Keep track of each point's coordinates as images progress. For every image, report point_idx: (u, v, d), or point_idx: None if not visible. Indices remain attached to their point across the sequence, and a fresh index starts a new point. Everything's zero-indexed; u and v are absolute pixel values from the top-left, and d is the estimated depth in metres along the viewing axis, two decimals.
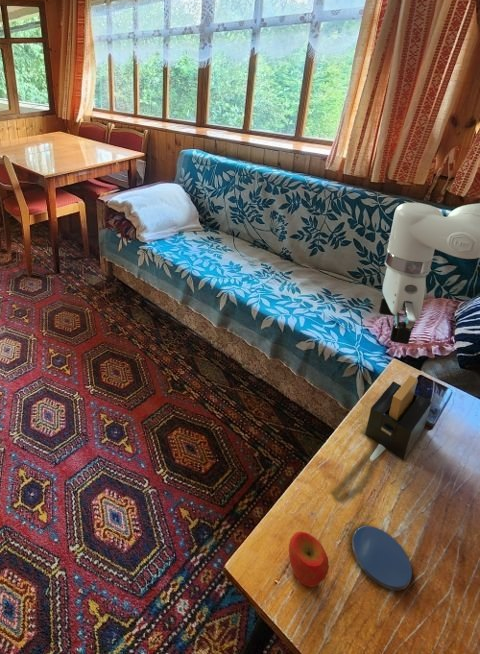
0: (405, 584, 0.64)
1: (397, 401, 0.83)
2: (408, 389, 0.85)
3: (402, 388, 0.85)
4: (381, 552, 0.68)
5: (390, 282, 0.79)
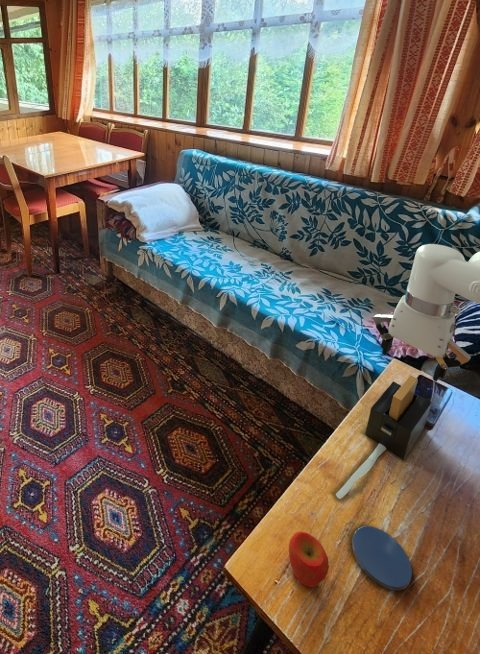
0: (405, 584, 0.64)
1: (397, 401, 0.83)
2: (408, 389, 0.85)
3: (402, 388, 0.85)
4: (381, 552, 0.68)
5: (423, 328, 0.77)
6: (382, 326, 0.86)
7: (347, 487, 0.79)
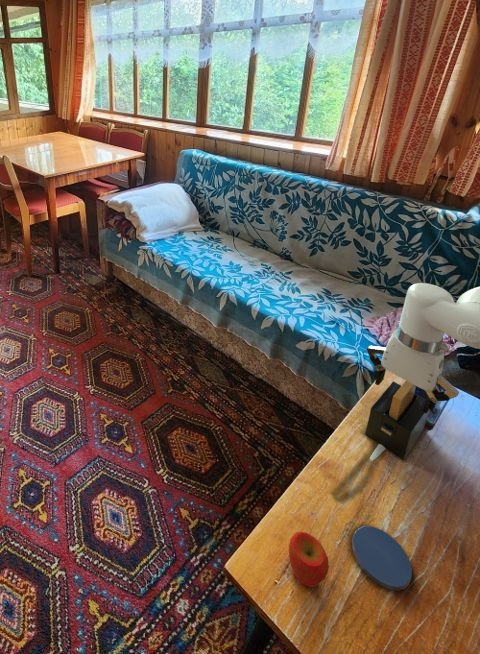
0: (405, 584, 0.64)
1: (397, 401, 0.83)
2: (408, 389, 0.85)
3: (402, 388, 0.85)
4: (381, 552, 0.68)
5: (414, 363, 0.80)
6: (375, 357, 0.89)
7: None
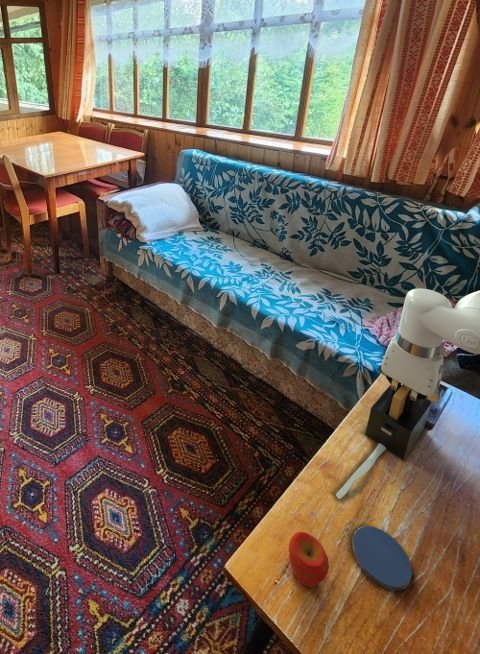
0: (405, 584, 0.64)
1: (397, 401, 0.83)
2: (408, 389, 0.85)
3: (402, 388, 0.85)
4: (381, 552, 0.68)
5: (414, 368, 0.80)
6: None
7: (347, 487, 0.79)
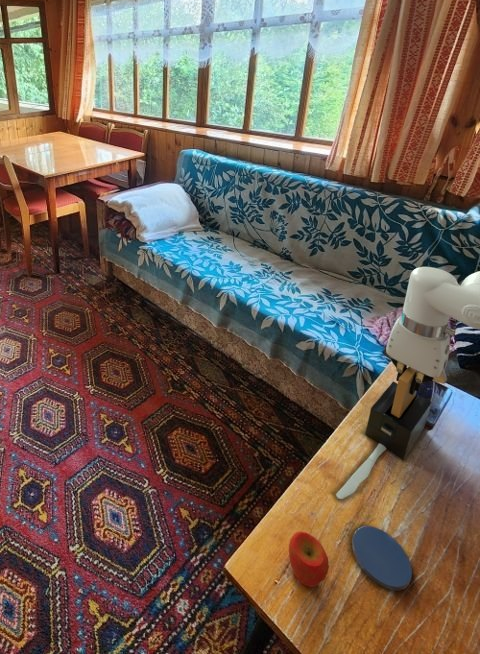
0: (405, 584, 0.64)
1: (402, 384, 0.81)
2: (414, 371, 0.83)
3: (408, 371, 0.83)
4: (381, 552, 0.68)
5: (420, 349, 0.78)
6: None
7: (347, 487, 0.79)
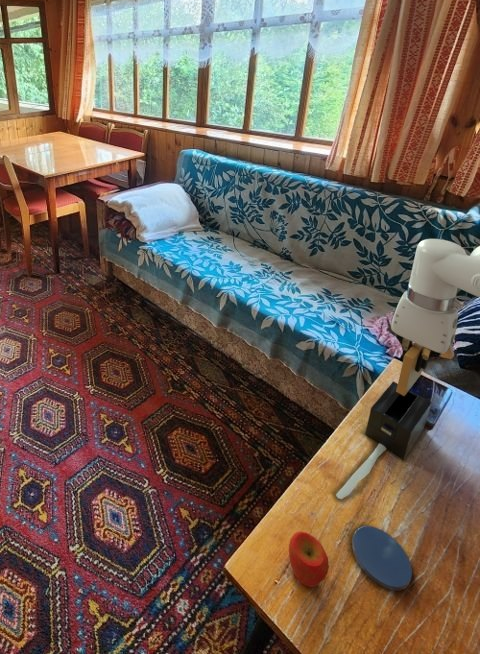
0: (405, 584, 0.64)
1: (408, 360, 0.79)
2: (420, 348, 0.80)
3: (413, 347, 0.81)
4: (381, 552, 0.68)
5: (426, 323, 0.76)
6: None
7: (347, 487, 0.79)
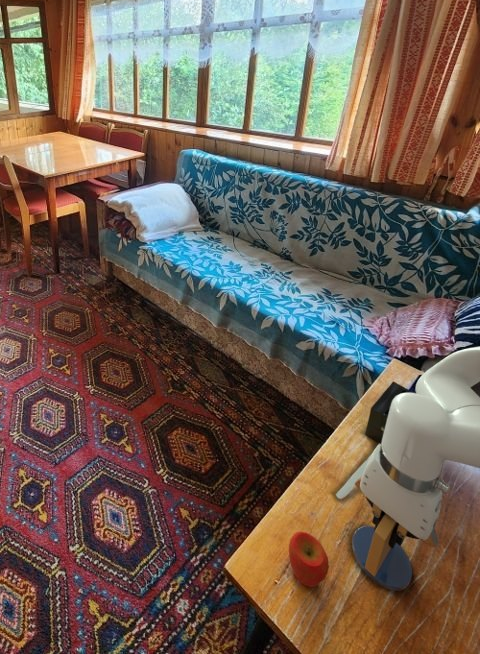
0: (405, 584, 0.64)
1: (379, 539, 0.62)
2: None
3: (387, 517, 0.64)
4: None
5: (402, 500, 0.59)
6: None
7: (347, 487, 0.79)
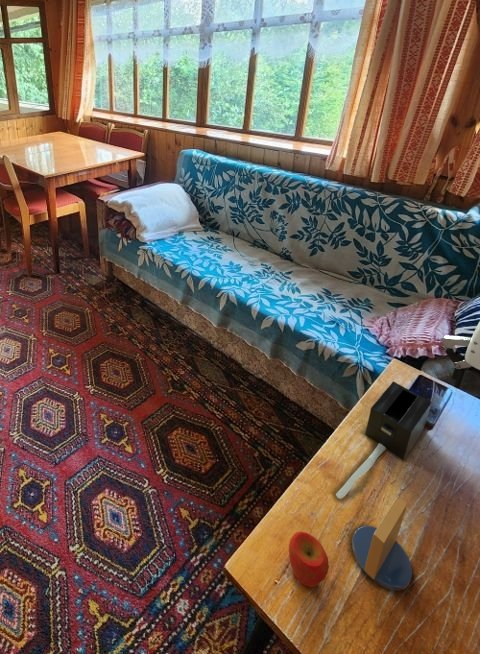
0: (405, 584, 0.64)
1: (378, 542, 0.62)
2: (394, 522, 0.63)
3: (386, 520, 0.64)
4: None
5: None
6: (454, 351, 0.66)
7: (347, 487, 0.79)
